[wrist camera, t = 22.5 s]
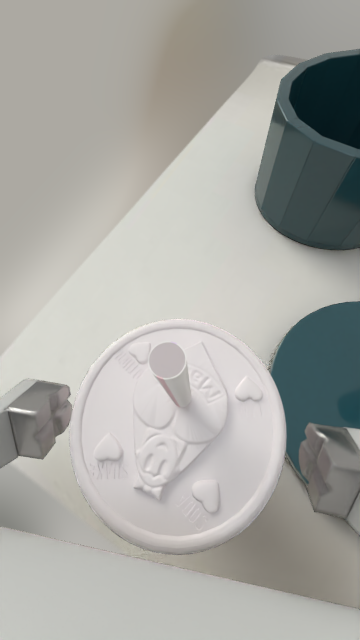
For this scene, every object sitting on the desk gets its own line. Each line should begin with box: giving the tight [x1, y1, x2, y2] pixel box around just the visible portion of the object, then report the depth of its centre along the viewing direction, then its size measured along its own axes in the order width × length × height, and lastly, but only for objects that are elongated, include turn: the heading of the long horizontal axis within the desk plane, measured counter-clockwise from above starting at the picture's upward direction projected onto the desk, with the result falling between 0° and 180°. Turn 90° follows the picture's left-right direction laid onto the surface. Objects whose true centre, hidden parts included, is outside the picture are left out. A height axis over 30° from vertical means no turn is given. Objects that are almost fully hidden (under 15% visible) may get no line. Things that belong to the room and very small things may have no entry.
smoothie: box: [69, 319, 287, 555], centre depth 10 cm, size 6×6×14 cm
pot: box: [255, 49, 360, 250], centre depth 20 cm, size 13×13×8 cm
